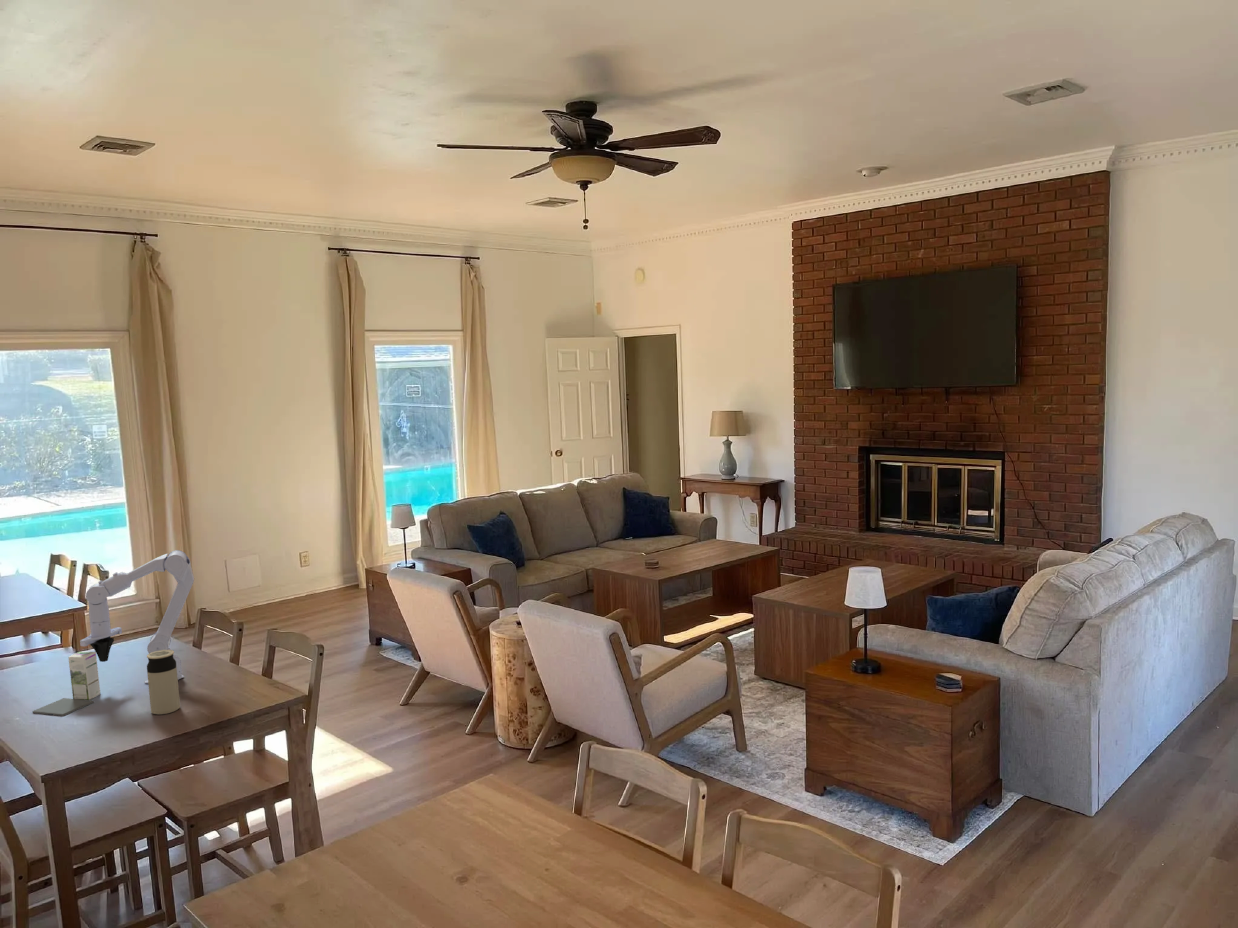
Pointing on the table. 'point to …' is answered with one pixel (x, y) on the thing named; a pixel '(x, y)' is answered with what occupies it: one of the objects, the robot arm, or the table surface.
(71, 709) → the mat
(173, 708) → the travel mug
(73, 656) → the syrup box
